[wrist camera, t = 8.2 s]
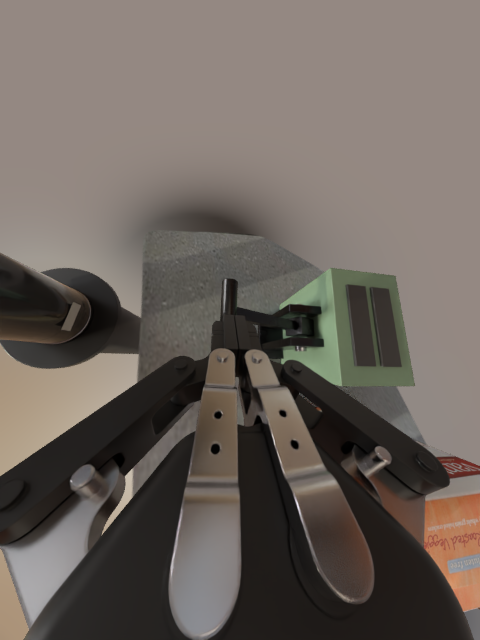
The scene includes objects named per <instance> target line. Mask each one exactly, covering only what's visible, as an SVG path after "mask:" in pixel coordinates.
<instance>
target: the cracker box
mask: <svg viewBox="0 0 480 640" xmlns="http://www.w3.org/2000/svg"><path fill="white" fill-rule="evenodd" d="M315 408H316V409H317V410H319V411H321V412H322V410H321V409H320V408H319V407H315ZM414 441H415V440H414ZM416 442H417V443H419V444H420V445H422V446H423V447H425V448H426V449H427V450H429V451H430V452H431V453H432V454H433V455H434V456H435V457H436V458H437V459H438V460H439V461H440V462H441V463H442V465H443V466H444V467H445V469H446V471H447V473H448V475H449V478H450V484H449V486H447V487H445V488H443V489H440V490H438V491H436V492H433V493H431V494H428V495H426V497H425V529H424V548H425V550H426V551H427V552H428V553H429V554H430V556H431V557H432V558H433V560H434V561H435V563H436V564H437V565H438V567H439V568H440V570H441V571H442V573H443V574H444V576H445V577H446V579H447V581H448V582H449V584H450V586H451V588H452V589H453V591H454V593H455V595H456V597H457V599H458V601H459V603H460V605H461V607H462V610H463V612H465V611H469V610H472V609H476V608H480V466H478V465H476V464H473V463H471V462H468V461H466V460H463V459H460V458H458V457H456V456H453V455H451V454H448V453H446V452H443V451H440V450H438V449H435V448H433V447H430V446H428V445H425V444H423V443H420V442H418V441H416Z"/></svg>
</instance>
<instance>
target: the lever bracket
mask: <svg viewBox="0 0 480 640" xmlns="http://www.w3.org/2000/svg"><path fill="white" fill-rule="evenodd" d="M320 314H322V310H321V306H310V305H304V304H288V305H287V306H285V307H284V308H282V309H281V310H279V311H278V312H276V313H275V314H273V315H272V316H276V317H280V318H284V319H289V318H294V317H299V316H302V317H306V318H309V319H310V318H313V317H315V316H318V315H320ZM258 338H259V342H260V345H261V348H262V351H263V352H264V353H265V354H267V356H268V358H271V359H284V355H283V350H294V349H295V351H299V352H306V351H307V348H320V347H324V339H320V338H299V337H289V338H285V339H283V330H282V329H276V328H271V327H265V326H260V325H258Z"/></svg>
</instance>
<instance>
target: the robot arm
mask: <svg viewBox="0 0 480 640" xmlns="http://www.w3.org/2000/svg"><path fill="white" fill-rule="evenodd" d="M92 318H93V307H92V304H91V302H90V300H89V299H88V297H87V296H86V295H84V294H83V293H82V292H80V291H78V290H76V289H73V288H70V287H68V286H66V285H64V284H62V283H60V282H58V281H56V280H54V279H52V278H50V277H48V276H46V275H44V274H42V273H40V272H38V271H36V270H34V269H32V268H30V267H28V266H26V265H24V264H22V263H20V262H18V261H16V260H14V259H12V258H10V257H8V256H6V255H4V254H2V253H0V339H3V340H15V341H26V342H39V343H44V344H62V343H66V342H69V341H72V340H74V339H76V338H77V337H79V336H80V335H81V334H83V333H84V332H85V331H86V329H87V328H88V327H89V325H90V323H91V321H92ZM235 377H239V385H238V390H239V396H240V401H241V406H242V411H243V417H244V426H242V425H238V424H237V388H236V387H235ZM299 393H301V394H303V395H304V396H305V397H306V398H308V399H309V400H310V401H311V402H313V403H314V404H315V405H316V406H318V407H319V408H320V409H321V410H322V412H321V411H319V410H317V409H316V408H315V407H314V406H312V405H311V404H310V403H309V402H307V401H306V400H305V399H304V398H302V397H301V396H300V395H299ZM199 400H201V403H200V409H199V414H198V420H197V426H196V431H195V432H193V433H191V434H189V435H187V436H186V437H184V438H183V439H182V440H181V441H180V442H179V443H177V444H176V445H175V446H174V448H173V449H172V450H171V451H170V452H169V453H168V455H167V456H166V457H165V458H164V460H163V461H162V462H161V463H160V465H159V466H158V467H157V468H156V469H155V471H154V472H153V473H152V474H151V476H150V477H149V478H148V479H147V481H146V482H145V483H144V484H143V485H142V487H141V488H140V489H139V490H138V492H137V493H136V494H135V495H134V496H133V498H132V499H131V500H130V501H129V503H128V504H127V505H126V506H125V508H124V509H123V510H122V511H121V512H120V514H119V515H118V516H117V517H116V519H115V520H114V521H113V522H112V524H111V525H110V526H109V527H108V529H107V530H106V531H105V532H104V533H103V535H102V531H103V529H104V526H105V524H106V522H107V520H108V518H109V517H110V515H111V514H112V512H113V511H114V510H115V508H116V507H117V505H118V504H119V502H120V500H121V498H122V496H123V493H124V490H125V475H126V474H127V473H128V472H129V471H130V470H131V469H132V468H133V467H134V466H135V465H136V464H137V463H138V462H139V461H140V460H141V459H142V458H143V457H144V456H145V455H146V454H147V453H148V452H149V450H150V449H151V448H152V447H153V446H154V445H155V444H156V443H157V442H158V441H159V440H160V439H161V438H162V437H163V436H164V435H165V434H166V433H167V432H168V431H169V430H170V429H171V428H172V426H173V425H174V424H175V423H176V422H177V421H178V420H179V419H180V418H181V417H182V416H183V415H184V414H185V413H186V412H187V411H188V410H189V409H190V408H191V407H192V406H193V404H194V402H196V401H199ZM449 484H450V478H449V475H448V473H447V471H446V469H445V467H444V466H443V465H442V463H441V462H440V461H439V460H438V459H437V458H436V457H435V456H434V455H433V454H432V453H431V452H430V451H429V450H427V449H426V448H425V447H423V446H422V445H420V444H419V443H417V442H416V441H414V440H413V439H411V438H410V437H409V436H407V435H406V434H404V433H403V432H401V431H400V430H398V429H397V428H395V427H394V426H393V425H391V424H390V423H388V422H387V421H385V420H384V419H382V418H381V417H379V416H378V415H377V414H375V413H374V412H372V411H371V410H369V409H368V408H366V407H365V406H364V405H362V404H361V403H359V402H358V401H356V400H355V399H353V398H352V397H350V396H349V395H348V394H346V393H345V392H343V391H342V390H340V389H339V388H337V387H336V386H334V385H333V384H332V383H330V382H329V381H327V380H326V379H324V378H323V377H321V376H320V375H319V374H317V373H316V372H314V371H313V370H311V369H310V368H308V367H307V366H305V365H304V364H303V363H301V362H299V361H297V360H287V361H285V362H284V364H280V363H277V362H273V361H271V360H269V358H268V356H267V354H265V353H264V352H263V351H262V348H261V345H260V342H259V338H258V335H257V332H256V328H255V327H254V326H253V324H252V323H246V320H245V316H241V315H226V314H224V315H223V321H215V322H214V324H213V326H212V340H211V353H210V354H209V355H208V356H207V357H206V358H204V359H202V360H198V361H194V360H193V359H192V358H190V357H187V356H179V357H175V358H173V359H172V360H170V361H169V362H167V363H166V364H164V365H163V366H161V367H160V368H158V369H157V370H155V371H154V372H152V373H151V374H150V375H148V376H147V377H145V378H144V379H142V380H141V381H139V382H138V383H136V384H135V385H133V386H132V387H131V388H129V389H128V390H126V391H125V392H123V393H122V394H120V395H119V396H117V397H116V398H114V399H113V400H111V401H110V402H109V403H107V404H106V405H104V406H103V407H101V408H100V409H98V410H97V411H95V412H94V413H92V414H91V415H90V416H88V417H87V418H85V419H84V420H82V421H81V422H79V423H78V424H76V425H75V426H73V427H72V428H70V429H69V430H68V431H66V432H65V433H63V434H62V435H60V436H59V437H57V438H56V439H54V440H53V441H51V442H50V443H48V444H47V445H46V446H44V447H43V448H41V449H40V450H38V451H37V452H35V453H34V454H32V455H31V456H30V457H28V458H27V459H25V460H24V461H22V462H21V463H19V464H18V465H16V466H15V467H14V468H12V469H10V470H9V471H8V472H6V473H5V474H3V475H2V476H0V549H1V550H2V551H3V554H4V557H5V560H6V563H7V566H8V569H9V572H10V575H11V578H12V581H13V584H14V586H15V589H16V592H17V595H18V598H19V601H20V604H21V607H22V610H23V613H24V616H25V619H26V622H27V625H28V628H29V631H28V633H27V635H26V636H25V638H24V640H474V639H473V636H472V633H471V630H470V627H469V624H468V622H467V619H466V617H465V614H464V612H463V610H462V607H461V605H460V603H459V601H458V599H457V597H456V595H455V593H454V591H453V589H452V588H451V586H450V584H449V582H448V581H447V579H446V577H445V576H444V574H443V573H442V571H441V570H440V568H439V567H438V565H437V564H436V563H435V561H434V560H433V558H432V557H431V556H430V554H429V553H428V552H427V551H426V550H425V548H424V529H425V497H426V495H428V494H431V493H433V492H436V491H438V490H440V489H443V488H445V487H447V486H449ZM101 535H102V536H101Z"/></svg>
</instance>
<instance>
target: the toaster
mask: <svg viewBox="0 0 480 640" xmlns="http://www.w3.org/2000/svg"><path fill="white" fill-rule="evenodd" d="M288 304H304V305H310V306H321V310H322V314H320V315H318V316H315V317H313V318H310V319H313V320H314V335H315V336H313V337H301V338H320V339H324V347H320V348H307V351H306V352H299V351H295V349H294V350H283V355H284V359H281V364H284V362H285V361H287V360H297V361H299V362H301V363H303V364H304V365H305V366H307V367H308V368H310V369H311V370H313V371H314V372H316V373H317V374H319V375H320V376H321V377H323V378H324V379H326V380H327V381H329V382H330V383H332V384H334V385H338V386H415V383H414V378H413V372H412V367H411V361H410V356H409V350H408V344H407V338H406V333H405V327H404V321H403V316H402V310H401V304H400V299H399V293H398V288H397V282H396V277H395V276H392V275H384V274H376V273H367V272H360V271H352V270H343V269H335V268H330V269H329V270H327V271H326V272H324V273H323V274H322V275H320V276H319V277H318V278H316V279H315V280H313V281H312V282H311V283H309V284H308V285H307V286H305V287H304V288H302V289H301V290H300V291H298V292H297V293H296V294H294V295H293V296H291V297H290V298H289V299H287V300H286V301H285V302H283V303H282V304H280V310H281V309H282V308H284V307H285V306H287V305H288ZM289 337H291V336H286V330H283V339H285V338H289Z"/></svg>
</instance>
